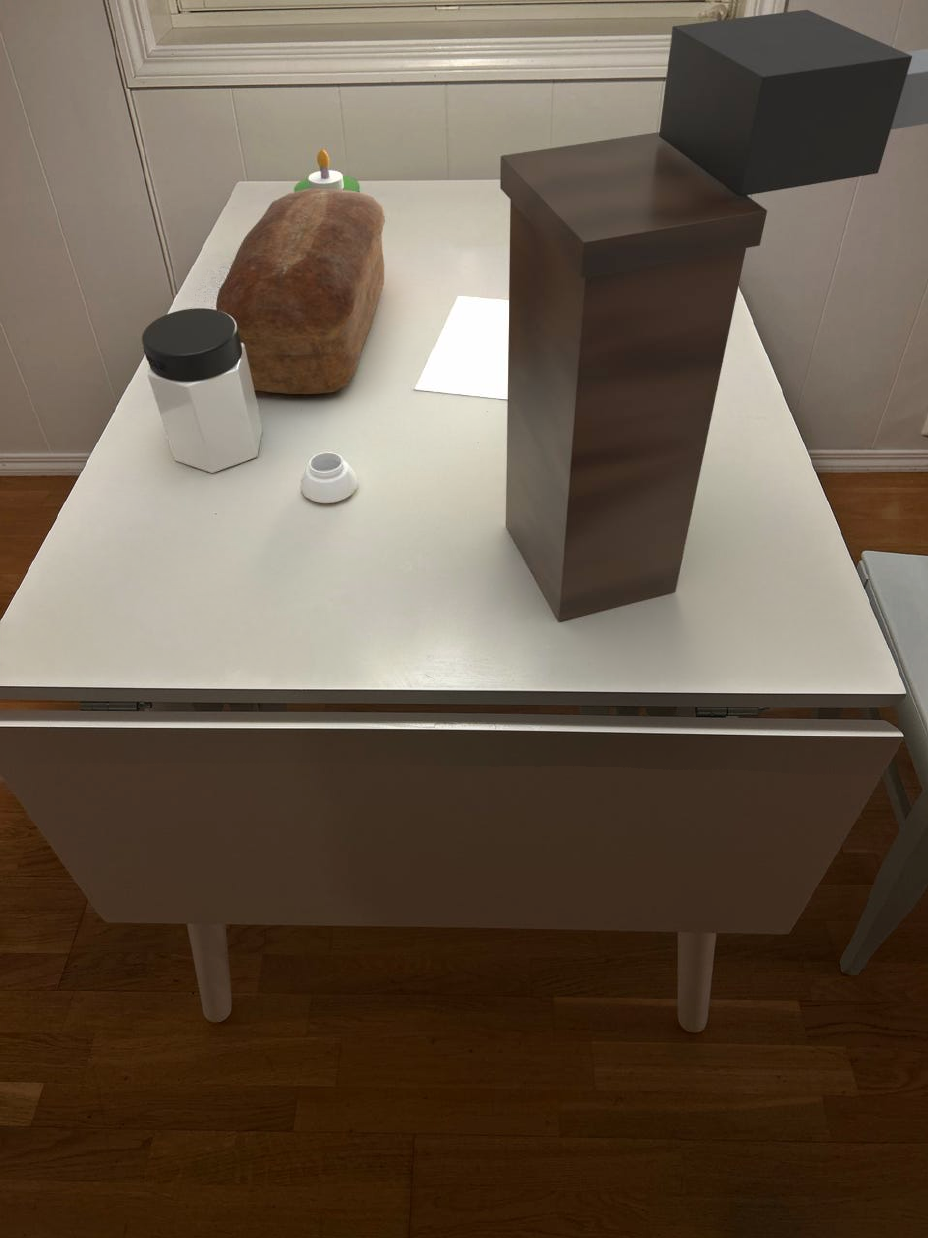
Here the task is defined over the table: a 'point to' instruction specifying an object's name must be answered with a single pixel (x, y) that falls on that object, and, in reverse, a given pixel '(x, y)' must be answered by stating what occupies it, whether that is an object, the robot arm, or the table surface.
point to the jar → (203, 388)
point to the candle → (327, 178)
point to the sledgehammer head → (787, 99)
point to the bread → (307, 289)
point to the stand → (614, 359)
